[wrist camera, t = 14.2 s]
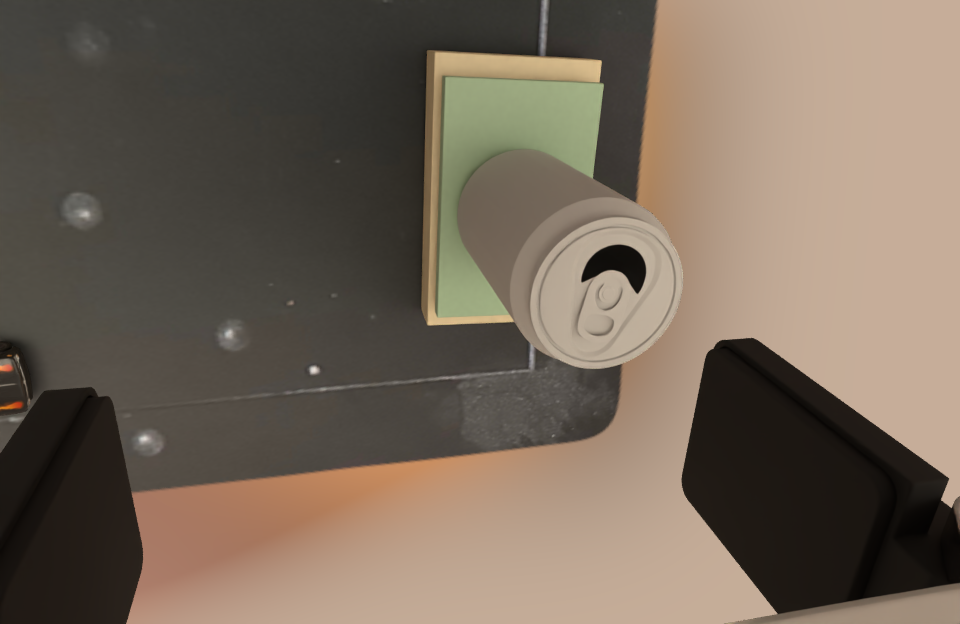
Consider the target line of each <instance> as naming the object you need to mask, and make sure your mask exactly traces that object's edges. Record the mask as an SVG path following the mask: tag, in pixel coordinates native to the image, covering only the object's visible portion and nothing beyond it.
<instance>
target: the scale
mask: <svg viewBox="0 0 960 624" xmlns="http://www.w3.org/2000/svg"><path fill="white" fill-rule="evenodd" d="M601 64H602V61H601V60H593V59H585V58H567V57H548V56H529V55H511V54H492V53H473V52H454V51H435V50H427V77H426V121H425V165H424V209H423V254H422V298H421V309H422V312H423V314H424V317H425V320H426V322H427V325H448V324H473V323H497V322H514V320H513V319H512V317H511V316H510V315H494V316H468V317H442V318H438V317H437V315H436V313H435V294H436V262H437V230H438V198H439V166H440V134H441V102H442V76H466V77H488V78H511V79H533V80H555V81H578V82H598V83H599V81H600V72H601Z"/></svg>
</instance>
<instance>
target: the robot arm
mask: <svg viewBox="0 0 960 624" xmlns="http://www.w3.org/2000/svg"><path fill="white" fill-rule="evenodd" d="M948 480H949V478H948V477H946V476H945V475H944V474H942V473H941V472H940V471H938V470H937V469H935V468H934V467H933V466H931V465H930V464H928V463H927V462H926V461H924V460H923V459H922V458H920V457H919V456H917V455H916V454H915V453H913V452H912V451H910V450H909V449H907V448H906V447H905V446H903V445H902V444H901V443H899V442H898V441H896V440H895V439H894V438H892V437H891V436H890V435H888V434H887V433H885V432H884V431H883V430H881V429H880V428H879V427H877V426H876V425H874V424H873V423H872V422H870V421H869V420H867V419H866V418H865V417H863V416H862V415H860V414H859V413H858V412H856V411H855V410H854V409H852V408H851V407H849V406H848V405H847V404H845V403H844V402H842V401H841V400H840V399H838V398H837V397H836V396H834V395H833V394H831V393H830V392H829V391H827V390H826V389H824V388H823V387H822V386H820V385H819V384H817V383H816V382H815V381H813V380H812V379H810V378H809V377H808V376H806V375H805V374H804V373H802V372H801V371H800V370H798V369H797V368H795V367H794V366H793V365H791V364H790V363H788V362H787V361H786V360H784V359H783V358H781V357H780V356H779V355H777V354H776V353H775V352H773V351H772V350H770V349H769V348H768V347H766V346H765V345H763V344H762V343H761V342H759V341H758V340H756V339H754V338H746V339H732V340H721V341H719V342H718V343H717V344H716V345H715V347H714V349H712V350H710V351H709V352H708V353H707V355H706V358H705V363H704V368H703V373H702V378H701V383H700V388H699V393H698V398H697V403H696V408H695V413H694V418H693V423H692V428H691V433H690V438H689V443H688V448H687V453H686V458H685V463H684V468H683V473H682V488H683V491H684V494H685V496H686V498H687V499H688V501H689V502H690V503H691V504H692V506H693V507H694V508H695V510H696V511H697V512H698V513H699V514H700V516H701V517H702V518H703V520H704V521H705V522H706V523H707V525H708V526H709V527H710V528H711V530H712V531H713V532H714V534H715V535H716V536H717V537H718V539H719V540H720V541H721V542H722V544H723V545H724V546H725V547H726V549H727V550H728V551H729V553H730V554H731V555H732V556H733V558H734V559H735V560H736V562H737V563H738V564H739V565H740V567H741V568H742V569H743V570H744V571H745V573H746V574H747V575H748V577H749V578H750V579H751V580H752V582H753V583H754V584H755V586H756V587H757V588H758V589H759V591H760V592H761V593H762V594H763V596H764V597H765V598H766V600H767V601H768V602H769V603H770V605H771V606H772V607H773V608H774V610H775V611H776V612H777V613H778V614H777V615H772V616H765V617H760V618H754V619H749V620H743V621H738V622H732V623H726V624H960V497H958V498H957V499H956V500H955V502H954V504H953V507H952V508H950V507H949V506H948V505H947V504H945V503H944V502H943V501H941V498H942V495H943V493H944V491H945V488H946V485H947V483H948ZM142 563H143V548H142V542H141V537H140V532H139V527H138V523H137V517H136V513H135V508H134V504H133V498H132V493H131V488H130V483H129V479H128V474H127V469H126V464H125V459H124V454H123V450H122V445H121V440H120V435H119V430H118V425H117V421H116V416H115V411H114V406H113V403H112V400H111V398H110V397H108V396H104V397H98V395H97V393H96V391H95V390H94V389H93V388H92V387H88V388H75V389H61V390H48V391H44V392H43V393H42V394H41V395H40V397H39V398H38V400H37V401H36V403H35V404H34V405H33V407H32V408H31V410H30V411H29V413H28V414H27V416H26V417H25V419H24V420H23V421H22V423H21V424H20V426H19V427H18V429H17V430H16V432H15V433H14V435H13V436H12V437H11V439H10V440H9V442H8V443H7V445H6V446H5V448H4V449H3V451H2V452H1V453H0V624H126V622H127V619H128V616H129V612H130V608H131V605H132V602H133V598H134V595H135V591H136V588H137V584H138V581H139V578H140V574H141V570H142Z"/></svg>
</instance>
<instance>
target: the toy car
mask: <svg viewBox="0 0 960 624" xmlns="http://www.w3.org/2000/svg"><path fill="white" fill-rule="evenodd" d="M32 398H33V392H32V384H31V378H30V374H29V370H28V367H27V364H26V361H25V359H24V356H23V354H22V352H21V350H20V349H19V348H18V347H15V346H14V347H12V346H11V344H10V343H8V342H0V416H3V415H10V414H16V413H22V412H25V411H27V410H28V407H29V404H30V400H32Z"/></svg>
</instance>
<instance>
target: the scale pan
mask: <svg viewBox="0 0 960 624" xmlns="http://www.w3.org/2000/svg"><path fill="white" fill-rule="evenodd" d="M603 87H604V84H603V83H598V82H578V81H555V80H533V79H511V78H488V77H466V76H442V102H441V134H440V166H439V198H438V230H437V262H436V294H435V313H436V315H437V317H438V318H442V317H468V316H494V315H510V314H509V313H508V311H507V310H506V308H505V307H504V305H503V304H502V302H501V301H500V299H499V298H498V296H497V295H496V293H495V292H494V290H493V289H492V287H491V286H490V284H489V283H488V281H487V280H486V278H485V277H484V275H483V274H482V272H481V271H480V269H479V268H478V266H477V265H476V263H475V262H474V260H473V259H472V257H471V256H470V254H469V253H468V251H467V250H466V248H465V246H464V244H463V242H462V240H461V237H460V234H459V229H458V223H457V212H458V205H459V200H460V197H461V194H462V191H463V189H464V187H465V185H466V184H467V182H468V180H469V179H470V177H471V176H472V175H473V174H474V172H475V171H476V170H477V169H478V168H479V167H480V166H482V165H483V164H484V163H485V162H487V161H488V160H490V159H491V158H493V157H495V156H497V155H499V154H502V153H504V152H507V151H512V150H517V149H531V150H537V151H541V152H544V153H547V154H549V155H551V156H553V157H555V158H557V159H558V160H560V161H562V162H564V163H566V164H567V165H569V166H571V167H573V168H574V169H576V170H578V171H580V172H582V173H583V174H585V175H587V176H589V177H590V178H592V179H593V170H594V162H595V154H596V145H597V137H598V129H599V120H600V112H601V103H602V95H603Z"/></svg>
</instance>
